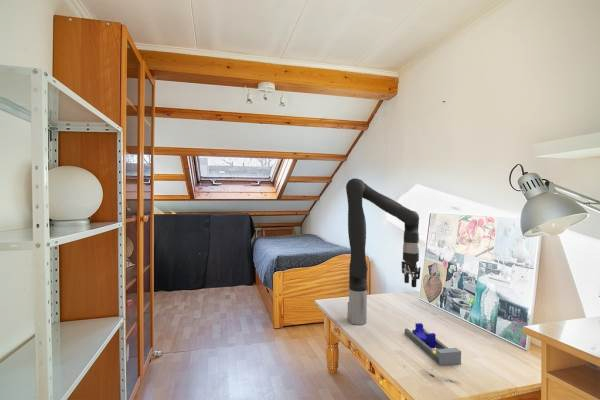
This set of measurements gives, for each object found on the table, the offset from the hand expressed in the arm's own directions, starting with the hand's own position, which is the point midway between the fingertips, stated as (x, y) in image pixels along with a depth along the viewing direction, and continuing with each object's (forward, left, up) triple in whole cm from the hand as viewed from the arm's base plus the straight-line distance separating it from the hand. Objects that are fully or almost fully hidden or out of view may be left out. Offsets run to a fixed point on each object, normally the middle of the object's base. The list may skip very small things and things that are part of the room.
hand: (410, 284), depth 153 cm
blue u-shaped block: (0, -12, -23) cm, 26 cm away
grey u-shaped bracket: (0, -17, -23) cm, 28 cm away
